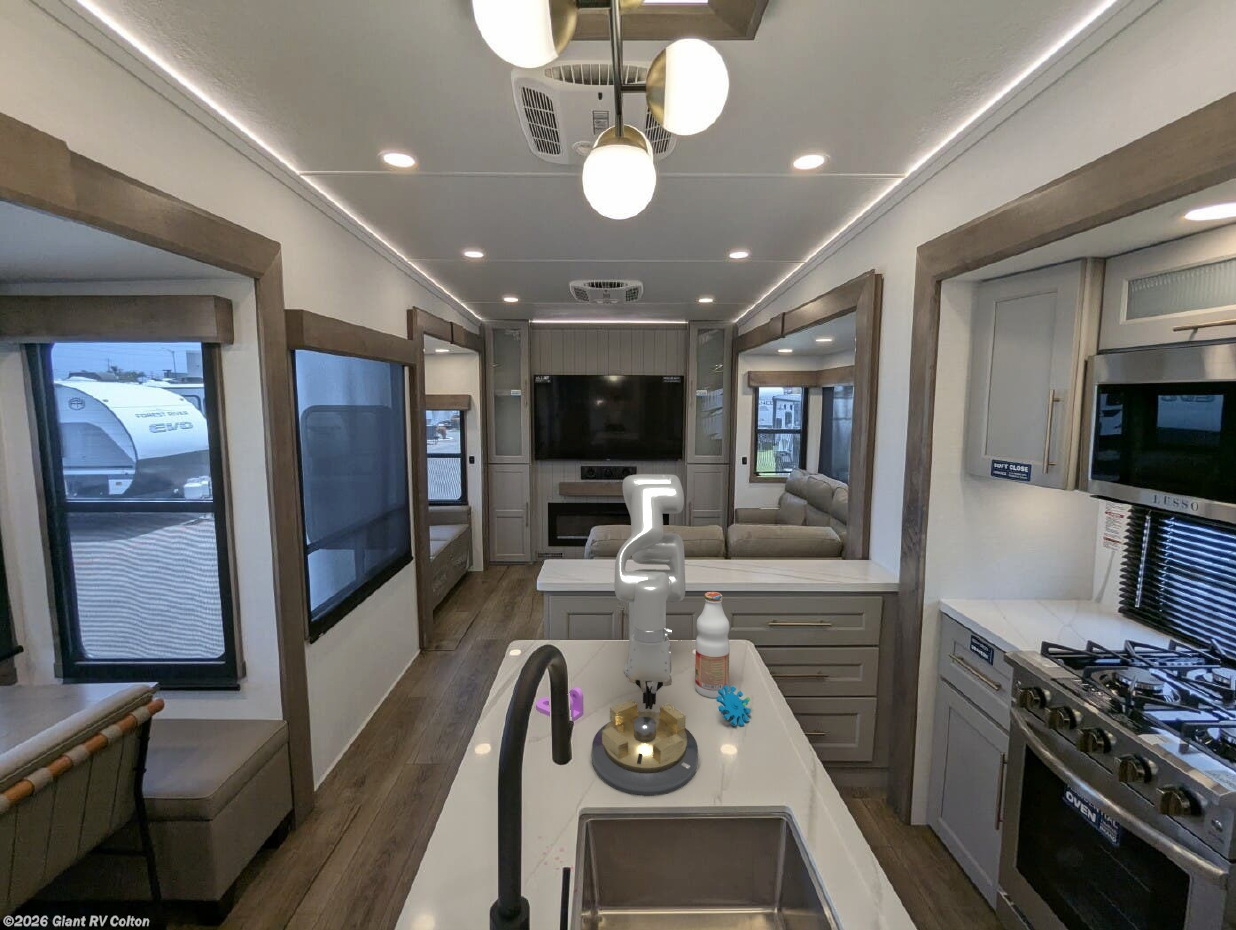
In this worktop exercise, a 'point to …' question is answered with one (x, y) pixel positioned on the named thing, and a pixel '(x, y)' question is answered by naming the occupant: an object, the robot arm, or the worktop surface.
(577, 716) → the bracket
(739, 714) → the gear
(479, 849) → the worktop surface
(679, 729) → the four-jaw chuck
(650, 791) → the cap flange
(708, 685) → the fruit juice
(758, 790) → the worktop surface
